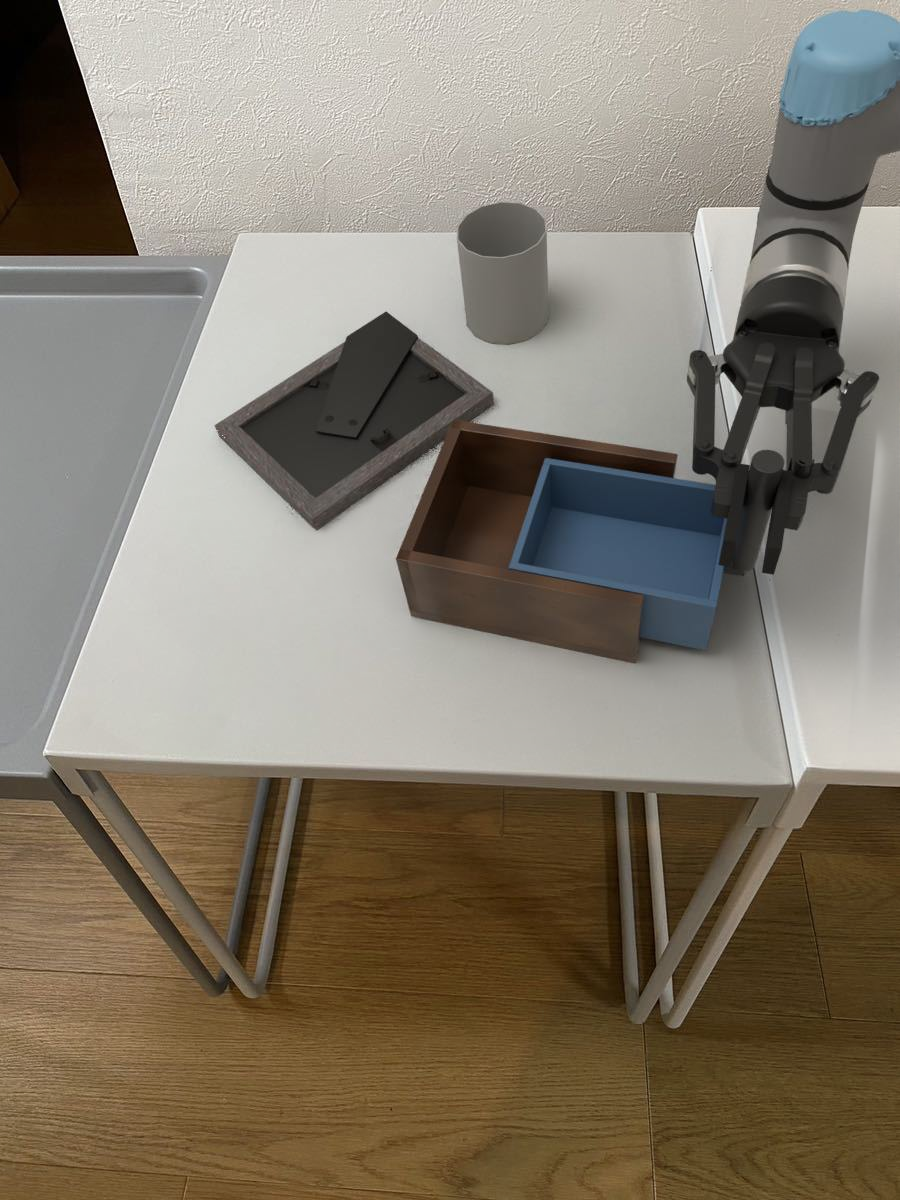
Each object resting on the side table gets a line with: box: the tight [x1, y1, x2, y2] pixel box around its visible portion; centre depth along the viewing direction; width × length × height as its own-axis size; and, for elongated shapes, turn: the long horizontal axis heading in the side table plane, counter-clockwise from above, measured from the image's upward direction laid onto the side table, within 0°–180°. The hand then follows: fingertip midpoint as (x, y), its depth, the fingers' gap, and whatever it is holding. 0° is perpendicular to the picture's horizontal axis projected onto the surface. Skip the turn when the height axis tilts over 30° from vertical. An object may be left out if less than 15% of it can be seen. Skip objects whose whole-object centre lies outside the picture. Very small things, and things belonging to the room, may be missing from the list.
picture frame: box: [213, 310, 495, 531], centre depth 87 cm, size 16×2×21 cm
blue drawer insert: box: [509, 449, 785, 651], centre depth 68 cm, size 17×11×15 cm, turn 73°
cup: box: [456, 201, 550, 346], centre depth 90 cm, size 8×8×10 cm
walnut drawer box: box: [395, 420, 678, 664], centre depth 73 cm, size 18×14×8 cm
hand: (749, 557), depth 59 cm, fingers closed on blue drawer insert, 2 cm apart
